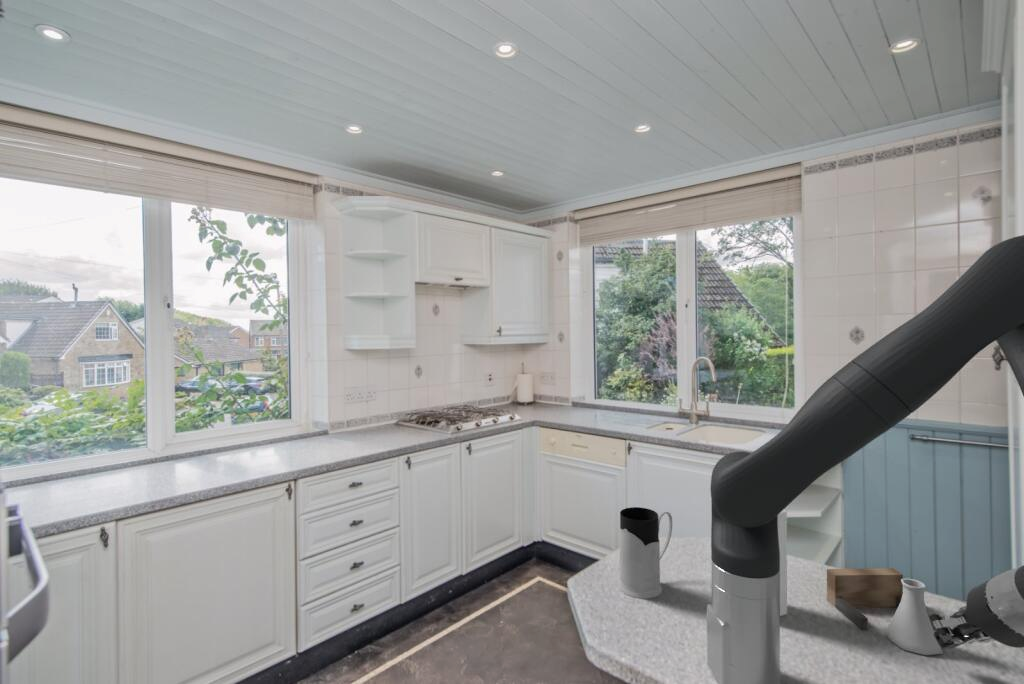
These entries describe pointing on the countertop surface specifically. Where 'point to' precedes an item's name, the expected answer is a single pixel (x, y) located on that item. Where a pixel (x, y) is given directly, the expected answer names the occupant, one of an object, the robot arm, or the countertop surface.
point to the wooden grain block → (863, 591)
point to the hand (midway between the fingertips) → (941, 640)
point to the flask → (913, 621)
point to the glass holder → (641, 552)
